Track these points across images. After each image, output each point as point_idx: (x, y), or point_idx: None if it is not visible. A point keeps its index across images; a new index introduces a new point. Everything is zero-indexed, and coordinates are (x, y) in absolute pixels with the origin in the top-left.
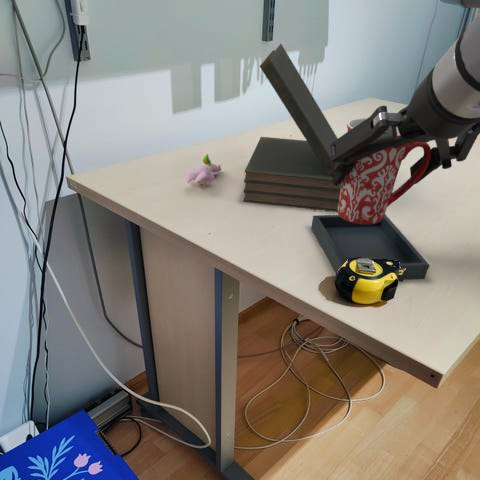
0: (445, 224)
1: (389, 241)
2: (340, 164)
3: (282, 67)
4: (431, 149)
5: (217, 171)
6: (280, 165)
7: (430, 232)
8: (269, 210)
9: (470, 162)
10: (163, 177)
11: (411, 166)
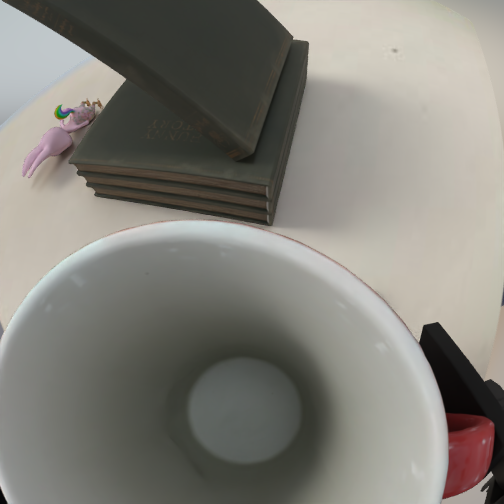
0: (468, 272)
1: None
2: None
3: None
4: (496, 439)
5: (88, 116)
6: (143, 124)
7: (439, 308)
8: (127, 225)
9: (488, 86)
10: (32, 140)
11: (428, 331)
